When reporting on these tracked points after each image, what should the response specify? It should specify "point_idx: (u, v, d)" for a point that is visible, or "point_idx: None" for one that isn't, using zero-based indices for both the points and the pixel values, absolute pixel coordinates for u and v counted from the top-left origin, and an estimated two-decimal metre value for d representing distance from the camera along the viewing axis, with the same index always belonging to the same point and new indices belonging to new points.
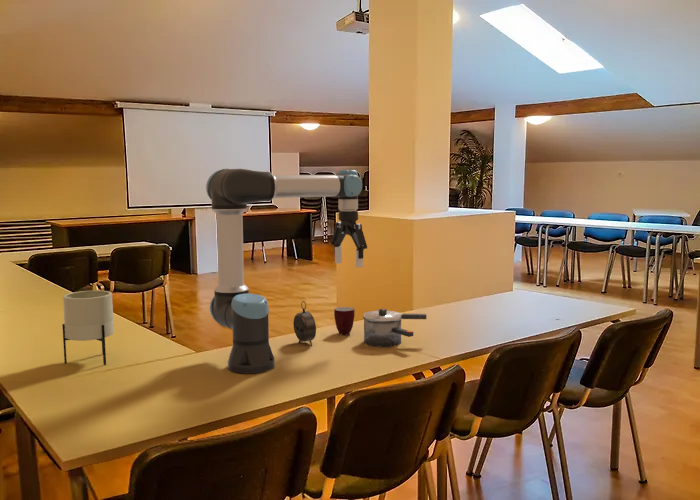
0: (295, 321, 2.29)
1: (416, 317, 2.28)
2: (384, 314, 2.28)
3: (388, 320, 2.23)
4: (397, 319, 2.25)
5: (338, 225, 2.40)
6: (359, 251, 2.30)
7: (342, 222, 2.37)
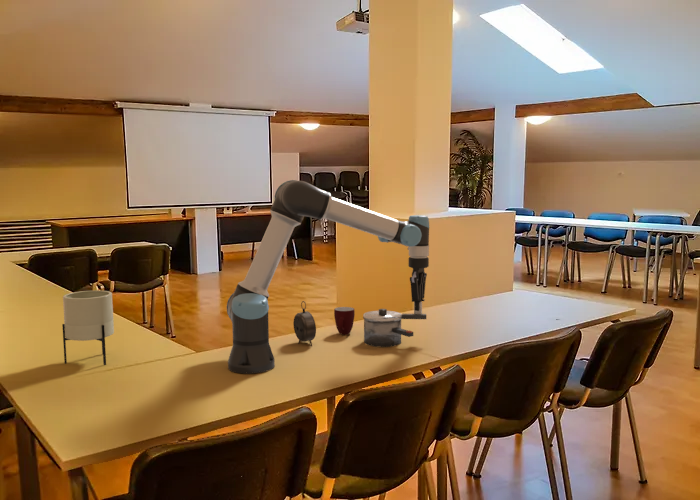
0: (295, 321, 2.29)
1: (416, 317, 2.28)
2: (384, 314, 2.28)
3: (388, 320, 2.23)
4: (397, 319, 2.25)
5: None
6: (420, 302, 2.32)
7: (418, 270, 2.26)
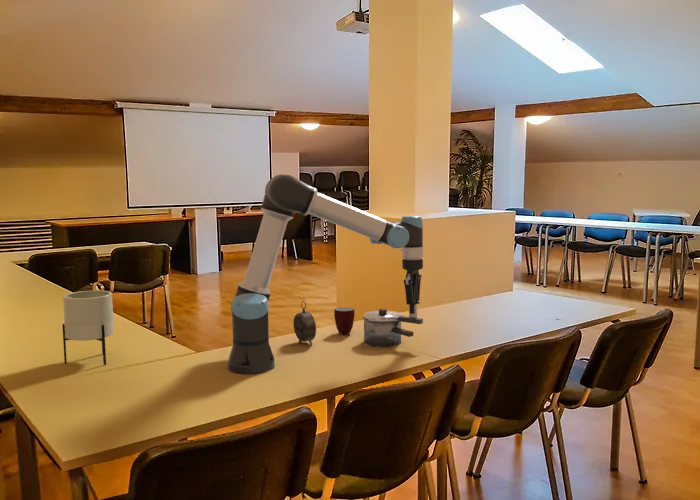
0: (295, 321, 2.29)
1: (411, 321, 2.22)
2: (382, 314, 2.28)
3: (378, 320, 2.23)
4: (389, 320, 2.23)
5: None
6: None
7: (412, 272, 2.19)
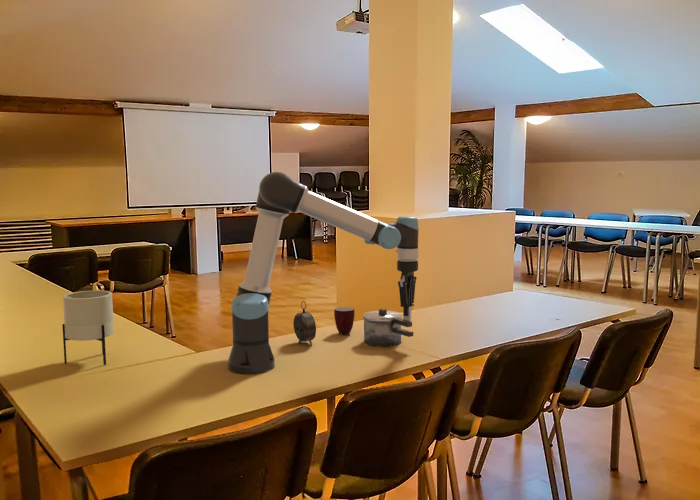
0: (295, 321, 2.29)
1: (400, 323, 2.19)
2: (380, 314, 2.29)
3: (370, 319, 2.24)
4: (380, 320, 2.23)
5: None
6: None
7: (407, 273, 2.16)
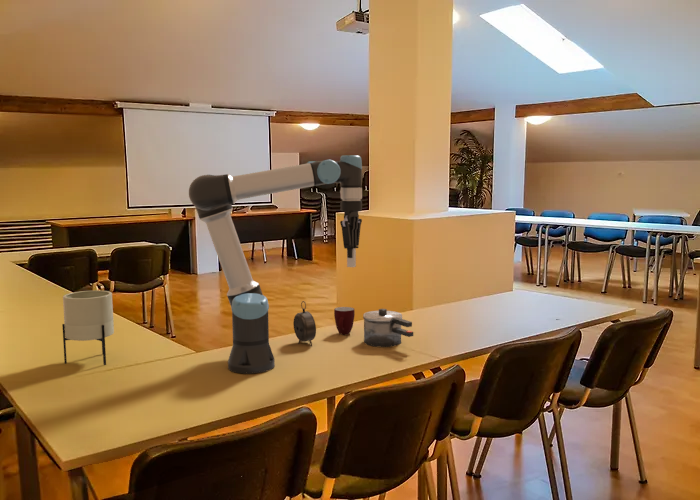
0: (295, 321, 2.29)
1: (400, 323, 2.19)
2: (380, 314, 2.29)
3: (370, 319, 2.24)
4: (380, 320, 2.23)
5: None
6: (354, 249, 2.17)
7: (350, 213, 2.11)
